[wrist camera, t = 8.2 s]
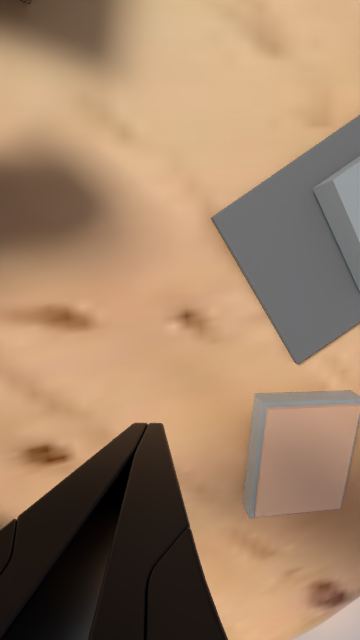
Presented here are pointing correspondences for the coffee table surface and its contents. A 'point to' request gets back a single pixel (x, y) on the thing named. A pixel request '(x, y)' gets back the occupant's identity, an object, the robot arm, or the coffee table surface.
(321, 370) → the coffee table surface
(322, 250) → the mat
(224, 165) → the coffee table surface
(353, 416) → the tile
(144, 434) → the robot arm
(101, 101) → the coffee table surface
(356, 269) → the tile
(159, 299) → the coffee table surface
